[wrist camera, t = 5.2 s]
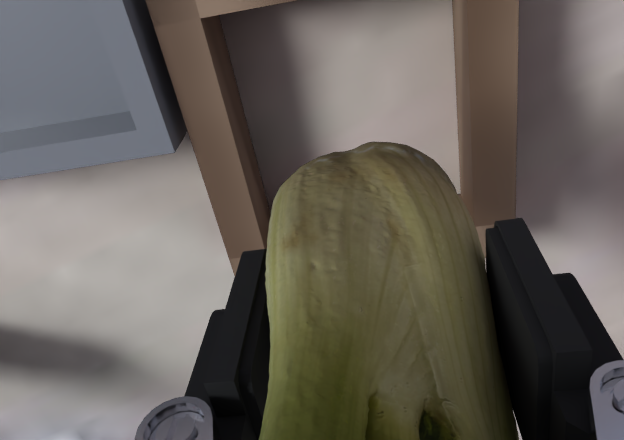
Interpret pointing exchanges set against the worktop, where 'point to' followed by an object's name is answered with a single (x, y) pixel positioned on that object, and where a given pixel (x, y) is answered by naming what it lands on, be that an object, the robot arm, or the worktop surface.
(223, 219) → the holder
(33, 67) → the tray
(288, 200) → the fennel bulb
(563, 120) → the worktop surface
